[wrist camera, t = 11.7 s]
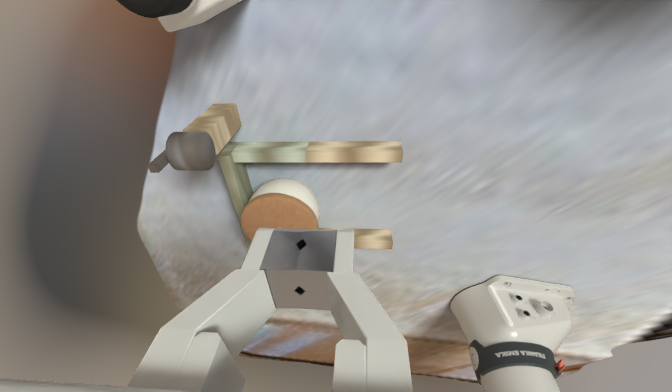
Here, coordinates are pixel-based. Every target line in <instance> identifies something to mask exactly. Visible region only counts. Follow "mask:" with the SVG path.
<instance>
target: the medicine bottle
mask: <svg viewBox="0 0 672 392" xmlns="http://www.w3.org/2000/svg"><path fill="white" fill-rule="evenodd" d="M117 1H118V2H119V3H120V4H122V5H123V6H124V7H126V8H127V9H128V10H130V11H132V12H134V13H136V14H138V15H141V16H144V17H150V18H158V20H159V21H160V23H161V24H162V26H163V27H164V29H165V30H166V31H168V32H173V31H176V30H180V29H184V28H187V27H191V26H194V25H198V24H201V23H204V22H205V21H207V20H209V19H211V18H212V17H214V16H216V15H218V14H219V13H221V12H223V11H225V10H226V9H228V8H230V7H232V6H233V5H235V4H237V3H238V2H240V1H242V0H117Z"/></svg>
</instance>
